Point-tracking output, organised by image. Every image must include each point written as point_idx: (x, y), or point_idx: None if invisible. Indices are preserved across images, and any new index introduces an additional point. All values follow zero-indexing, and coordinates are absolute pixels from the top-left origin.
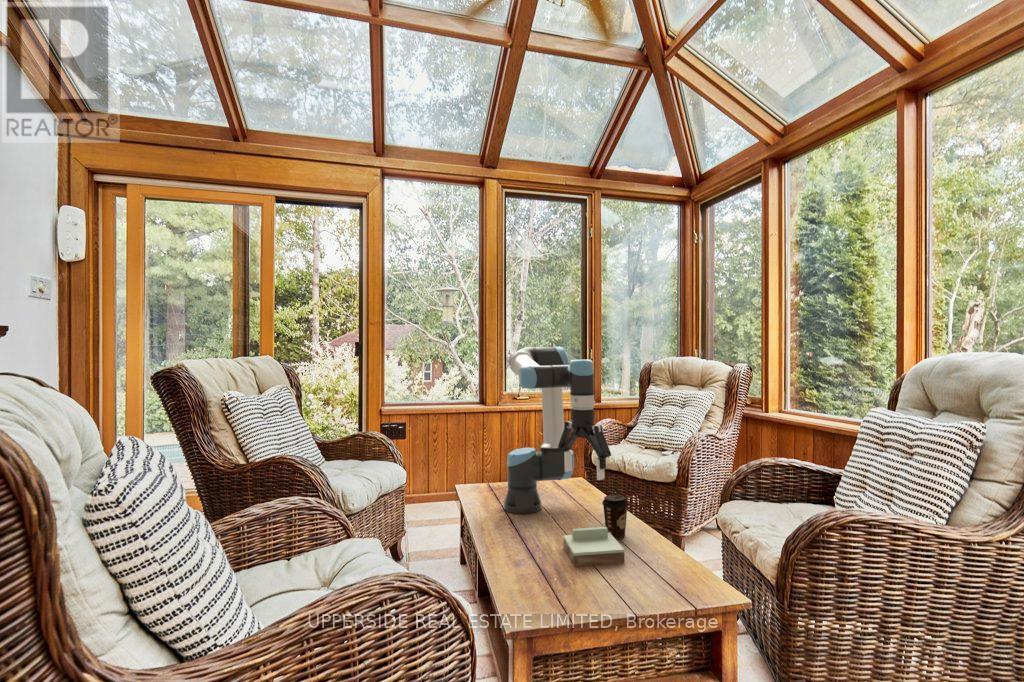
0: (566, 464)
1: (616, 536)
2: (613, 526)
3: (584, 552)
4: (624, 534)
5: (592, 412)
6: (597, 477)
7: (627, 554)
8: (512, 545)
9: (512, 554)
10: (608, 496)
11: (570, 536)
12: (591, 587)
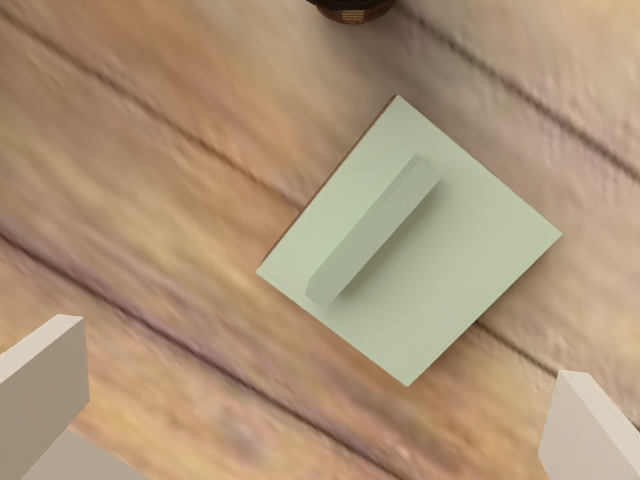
0: (33, 458)
1: (385, 12)
2: (375, 12)
3: (436, 358)
4: None
5: None
6: (555, 474)
7: (508, 133)
8: (110, 352)
9: (171, 405)
10: None
11: (287, 263)
12: (529, 432)
